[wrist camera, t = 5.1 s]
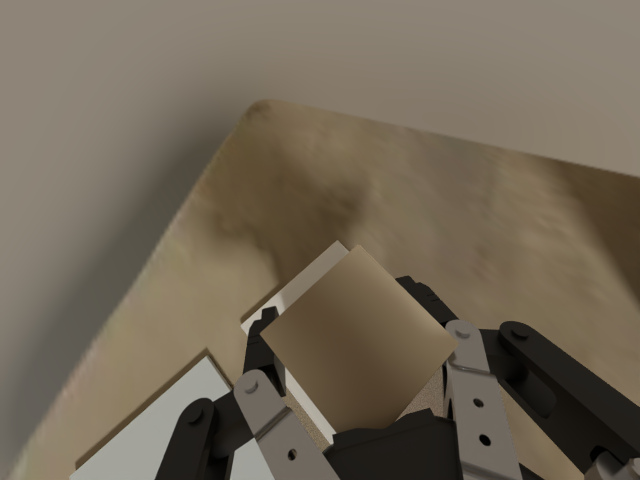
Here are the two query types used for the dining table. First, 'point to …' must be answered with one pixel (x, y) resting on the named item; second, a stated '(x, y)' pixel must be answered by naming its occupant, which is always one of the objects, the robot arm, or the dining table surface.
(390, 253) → the dining table surface
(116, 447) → the rest pad
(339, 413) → the beech block
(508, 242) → the dining table surface
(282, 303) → the tile
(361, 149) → the dining table surface
